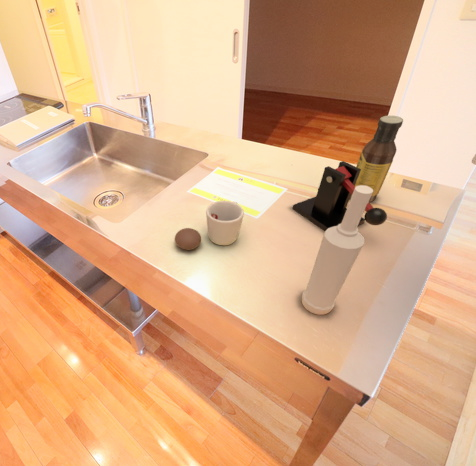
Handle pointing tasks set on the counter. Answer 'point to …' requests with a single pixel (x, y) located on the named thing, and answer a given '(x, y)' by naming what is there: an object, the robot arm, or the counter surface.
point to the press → (329, 198)
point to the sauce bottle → (378, 155)
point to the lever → (372, 214)
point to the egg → (188, 238)
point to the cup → (224, 221)
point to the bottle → (336, 256)
